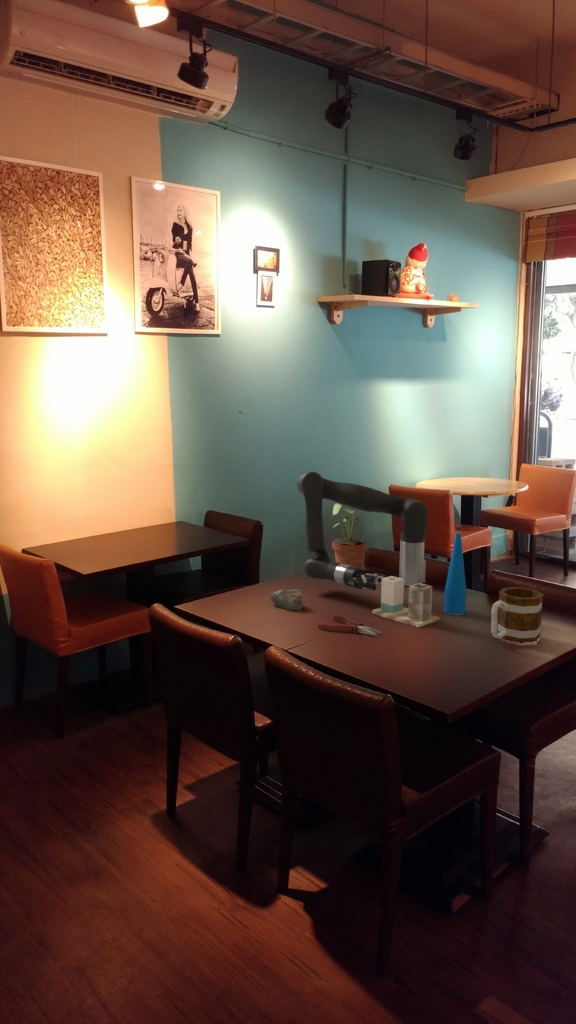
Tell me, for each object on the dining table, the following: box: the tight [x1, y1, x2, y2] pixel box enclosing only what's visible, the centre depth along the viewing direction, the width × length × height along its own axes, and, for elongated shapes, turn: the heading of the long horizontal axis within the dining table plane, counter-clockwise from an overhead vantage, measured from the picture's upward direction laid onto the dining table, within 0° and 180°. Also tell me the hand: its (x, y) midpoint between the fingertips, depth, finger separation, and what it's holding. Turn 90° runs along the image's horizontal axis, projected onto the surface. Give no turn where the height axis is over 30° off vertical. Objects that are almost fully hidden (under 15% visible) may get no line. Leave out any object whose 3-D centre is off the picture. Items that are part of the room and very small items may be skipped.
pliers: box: [317, 614, 383, 637], centre depth 253 cm, size 11×20×3 cm, turn 55°
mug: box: [490, 586, 545, 643], centre depth 243 cm, size 20×14×15 cm
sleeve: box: [380, 575, 405, 613], centre depth 269 cm, size 5×5×11 cm
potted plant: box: [329, 502, 368, 569], centre depth 320 cm, size 16×15×35 cm
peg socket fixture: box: [371, 583, 440, 628], centre depth 265 cm, size 20×11×12 cm, turn 43°
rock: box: [269, 588, 304, 612], centre depth 278 cm, size 13×9×6 cm, turn 48°
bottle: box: [443, 525, 467, 614], centre depth 270 cm, size 7×7×30 cm
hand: (383, 585), depth 272 cm, fingers open, 8 cm apart
